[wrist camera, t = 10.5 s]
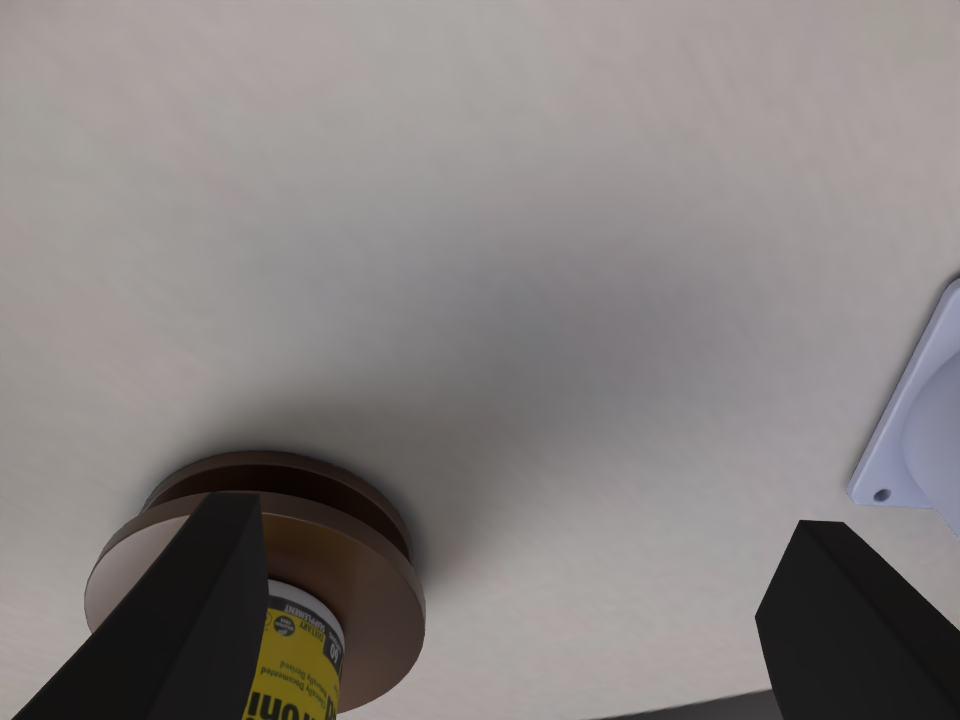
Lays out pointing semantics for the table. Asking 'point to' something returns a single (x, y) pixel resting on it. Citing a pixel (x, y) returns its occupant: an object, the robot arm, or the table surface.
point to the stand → (295, 555)
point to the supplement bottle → (297, 659)
